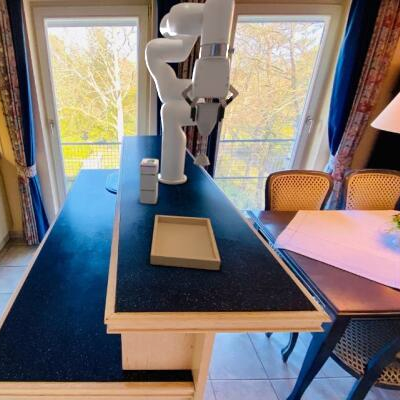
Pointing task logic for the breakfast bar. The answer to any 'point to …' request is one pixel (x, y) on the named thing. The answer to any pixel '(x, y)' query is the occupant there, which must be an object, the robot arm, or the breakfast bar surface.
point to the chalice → (205, 126)
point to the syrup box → (149, 181)
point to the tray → (184, 243)
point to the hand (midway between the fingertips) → (206, 120)
